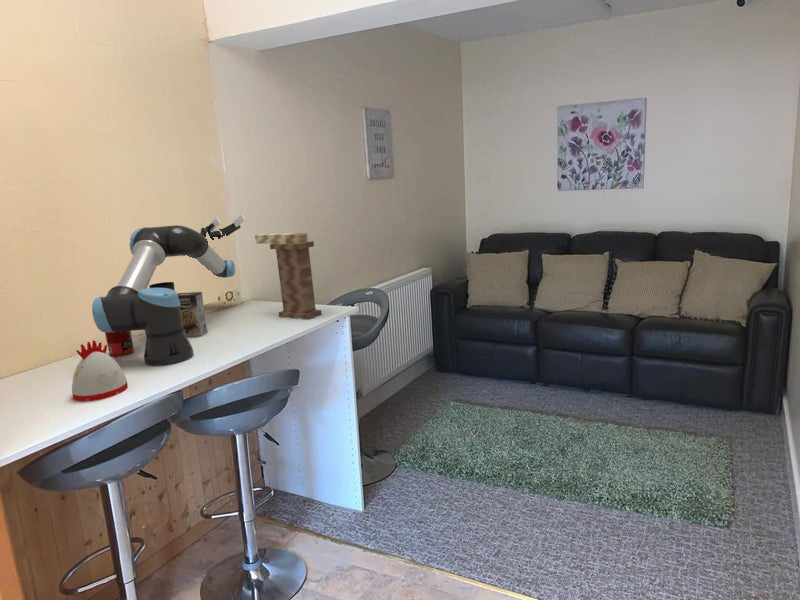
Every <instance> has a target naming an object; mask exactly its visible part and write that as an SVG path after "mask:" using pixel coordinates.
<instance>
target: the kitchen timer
mask: <svg viewBox="0 0 800 600" xmlns="http://www.w3.org/2000/svg"><path fill="white" fill-rule="evenodd" d="M86 345H87V346H86V347H87V348H86V347H85V345H84V344H82V343H81V344H80V350H81V351H80V350H78V349H75V351H76V353H77V354H78V355H79V356H80V357H81V358H80V360H79V362H78V364H77V365H76V367H75V370H74V373H73V377H72V384H71V393H72V394H71V395H72V399H74V401H77V402H94V401H99V400H103V399H104V400H105V399H108V398H111V397H114V396H117V395H119V394H122V393H123V392H125V391H126V390H127V389H128V380H127V377H126V375H125V373H124V371H123V369H122V368H121V365H119V363H118V362H117V360H115V359H114V357H112V356H110V354H107V349H108V345H107V344H104V346H103V349H102V345H103V343H102V342H98V345H97V342H96V340H93V339H92V345H91V342H90V341H87V342H86Z"/></svg>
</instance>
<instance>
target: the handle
mask: <svg viewBox="0 0 800 600" xmlns="http://www.w3.org/2000/svg"><path fill="white" fill-rule="evenodd" d="M254 238H255V244H258V245H259V244H266V245H267V244H269V245H270V244H276V243H286V244H299V243H304V242H308V241H309V239H308V232H295V233H259V234H255V235H254Z"/></svg>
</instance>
